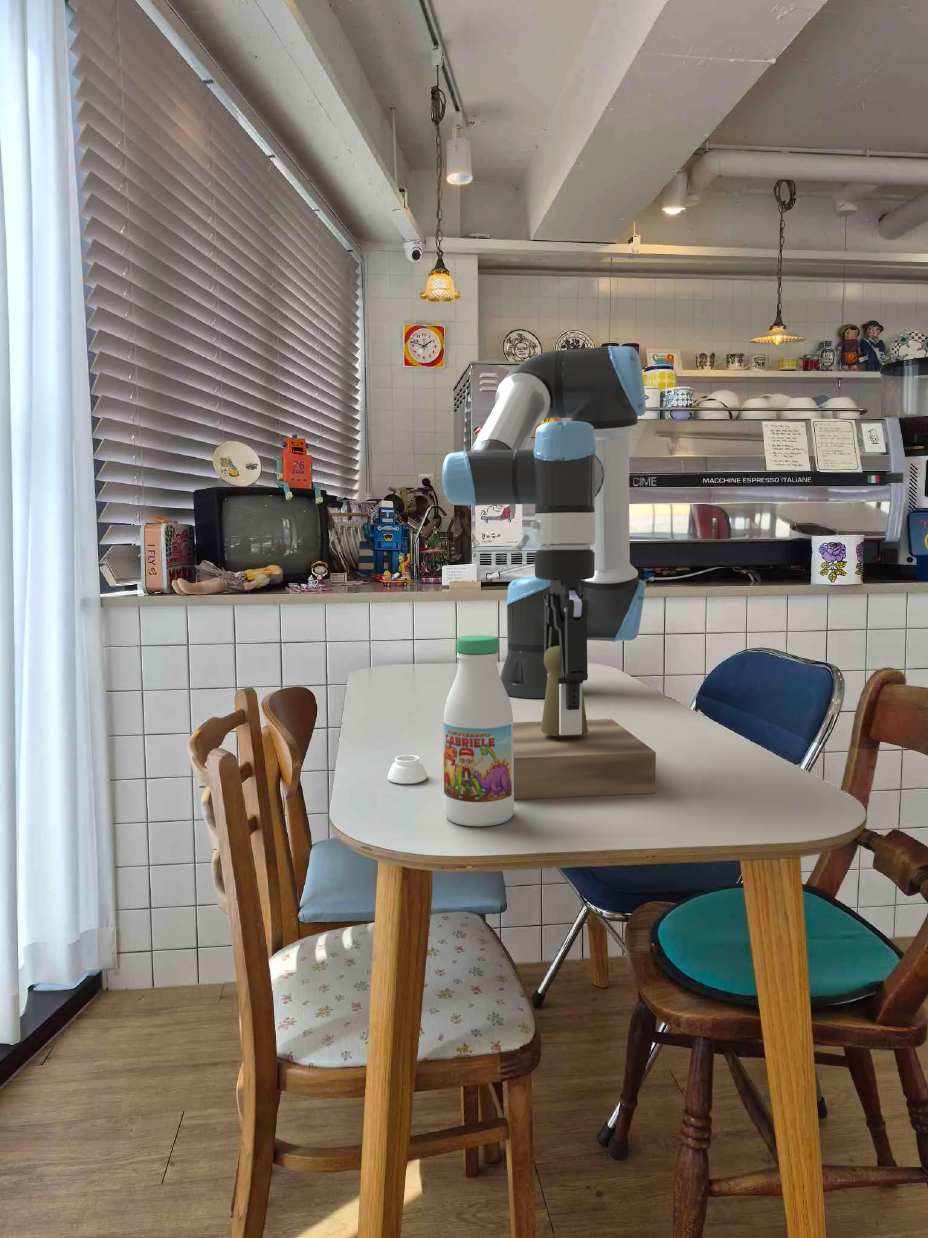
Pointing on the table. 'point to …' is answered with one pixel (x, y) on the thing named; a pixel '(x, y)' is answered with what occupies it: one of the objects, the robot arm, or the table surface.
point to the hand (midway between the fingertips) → (564, 727)
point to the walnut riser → (581, 762)
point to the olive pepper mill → (555, 695)
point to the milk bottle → (478, 738)
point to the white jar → (407, 770)
